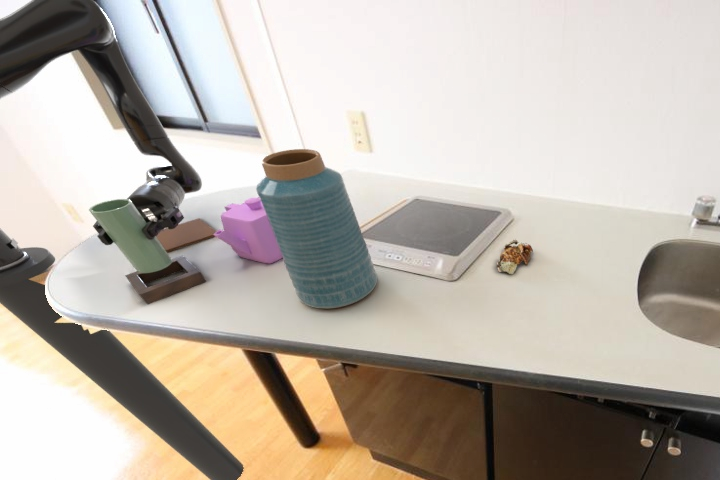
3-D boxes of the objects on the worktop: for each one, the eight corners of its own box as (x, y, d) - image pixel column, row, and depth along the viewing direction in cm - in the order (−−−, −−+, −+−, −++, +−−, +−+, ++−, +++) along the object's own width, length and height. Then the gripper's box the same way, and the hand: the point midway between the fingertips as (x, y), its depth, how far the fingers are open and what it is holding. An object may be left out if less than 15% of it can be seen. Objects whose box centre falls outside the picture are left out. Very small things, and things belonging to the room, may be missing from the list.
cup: (141, 276, 73) (92, 215, 64) (133, 266, 76) (85, 206, 67) (176, 264, 77) (135, 204, 68) (167, 254, 80) (126, 196, 71)
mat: (158, 255, 88) (156, 253, 88) (141, 238, 95) (140, 236, 95) (219, 234, 96) (218, 232, 96) (200, 220, 103) (199, 218, 103)
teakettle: (308, 227, 99) (290, 181, 91) (312, 256, 88) (293, 206, 80) (238, 240, 94) (212, 193, 86) (234, 272, 83) (203, 221, 74)
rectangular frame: (147, 304, 74) (139, 294, 72) (132, 284, 79) (124, 275, 78) (206, 281, 80) (200, 271, 79) (189, 264, 85) (182, 255, 84)
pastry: (492, 271, 82) (491, 258, 80) (507, 246, 91) (507, 233, 88) (521, 277, 81) (522, 263, 78) (534, 251, 89) (535, 237, 87)
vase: (366, 312, 72) (320, 174, 54) (285, 312, 72) (212, 173, 54) (386, 268, 84) (355, 142, 66) (317, 267, 84) (266, 142, 66)
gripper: (103, 191, 77) (64, 225, 65) (181, 183, 81) (157, 214, 69) (127, 224, 82) (95, 261, 70) (200, 215, 86) (180, 249, 74)
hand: (126, 237), depth 70 cm, fingers closed on cup, 6 cm apart
